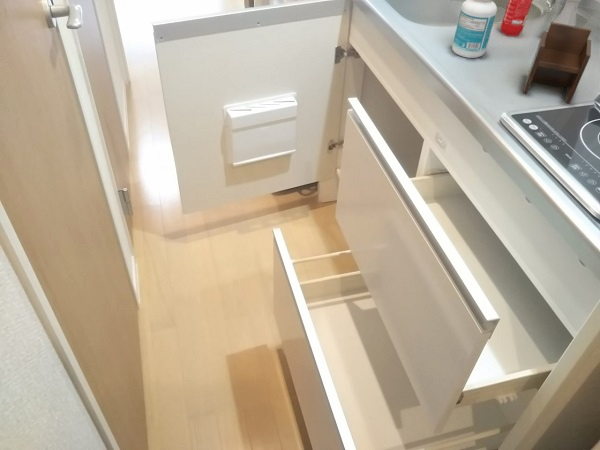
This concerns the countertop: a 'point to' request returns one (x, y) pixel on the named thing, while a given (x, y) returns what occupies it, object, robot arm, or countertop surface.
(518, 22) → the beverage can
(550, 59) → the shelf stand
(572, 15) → the flask
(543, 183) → the countertop surface
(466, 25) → the pill bottle
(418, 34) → the countertop surface
